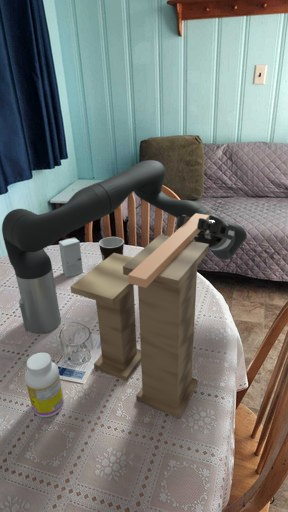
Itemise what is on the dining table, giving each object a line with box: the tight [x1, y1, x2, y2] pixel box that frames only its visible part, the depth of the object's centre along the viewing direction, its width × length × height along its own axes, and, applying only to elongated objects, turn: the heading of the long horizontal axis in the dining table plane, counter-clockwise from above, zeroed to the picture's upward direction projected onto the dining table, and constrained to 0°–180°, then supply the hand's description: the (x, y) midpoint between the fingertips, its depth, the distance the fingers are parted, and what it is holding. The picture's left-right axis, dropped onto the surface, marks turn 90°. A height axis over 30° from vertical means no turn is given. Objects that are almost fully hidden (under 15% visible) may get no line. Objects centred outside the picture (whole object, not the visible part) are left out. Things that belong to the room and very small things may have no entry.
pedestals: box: [70, 234, 210, 420], centre depth 75 cm, size 18×24×34 cm
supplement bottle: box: [24, 352, 65, 418], centre depth 73 cm, size 7×7×13 cm
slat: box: [128, 213, 209, 288], centre depth 64 cm, size 28×3×2 cm, turn 151°
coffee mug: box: [98, 236, 125, 262], centre depth 127 cm, size 12×9×10 cm
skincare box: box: [58, 237, 84, 278], centre depth 123 cm, size 6×4×12 cm
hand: (191, 221), depth 70 cm, fingers closed on slat, 3 cm apart
